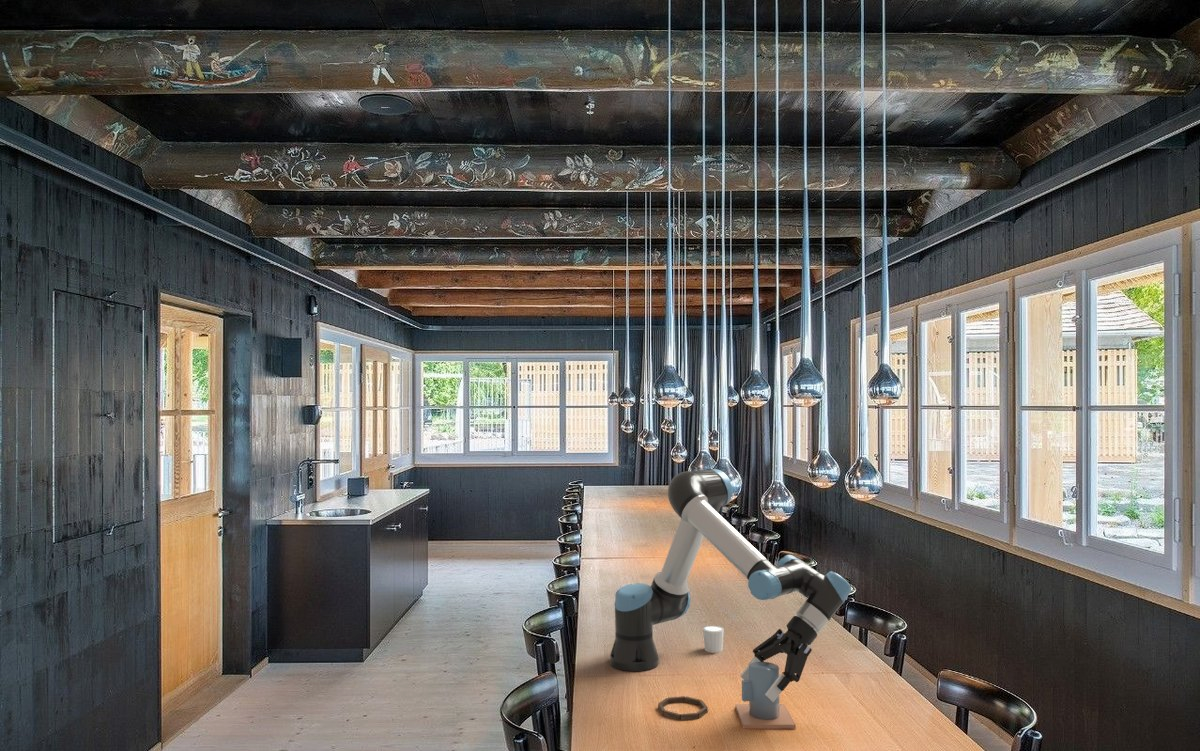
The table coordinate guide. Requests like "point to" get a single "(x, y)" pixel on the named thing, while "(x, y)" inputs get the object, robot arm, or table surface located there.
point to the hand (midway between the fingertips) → (755, 688)
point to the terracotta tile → (753, 723)
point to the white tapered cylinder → (713, 638)
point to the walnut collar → (682, 716)
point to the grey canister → (761, 690)
